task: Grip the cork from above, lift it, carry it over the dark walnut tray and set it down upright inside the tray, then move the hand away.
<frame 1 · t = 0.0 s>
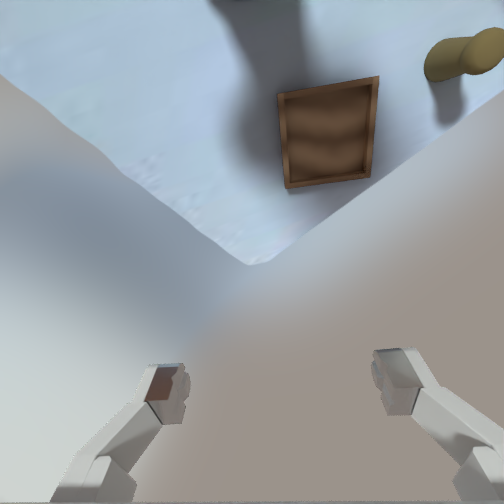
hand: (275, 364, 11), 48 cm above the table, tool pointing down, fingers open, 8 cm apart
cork: (442, 61, 43), on the table
walnut tray: (323, 136, 50), on the table
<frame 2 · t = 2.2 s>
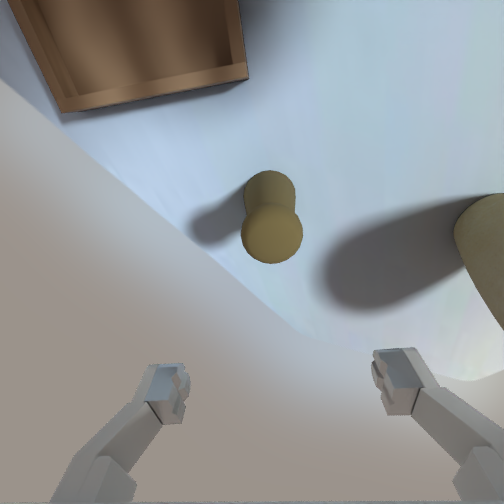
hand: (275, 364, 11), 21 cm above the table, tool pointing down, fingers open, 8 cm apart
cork: (269, 196, 29), on the table
plant pot: (484, 223, 30), on the table
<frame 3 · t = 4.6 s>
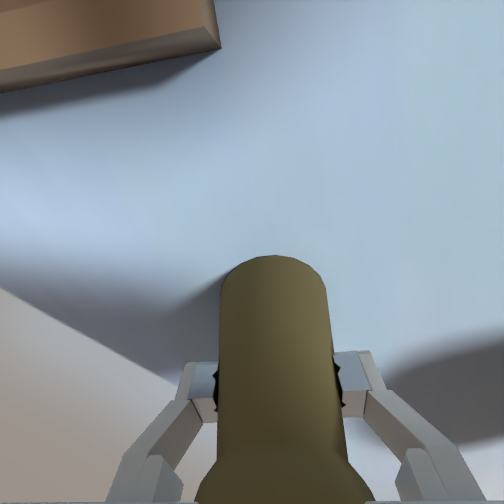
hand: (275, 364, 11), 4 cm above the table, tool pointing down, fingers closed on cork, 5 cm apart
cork: (272, 297, 15), on the table, touching gripper
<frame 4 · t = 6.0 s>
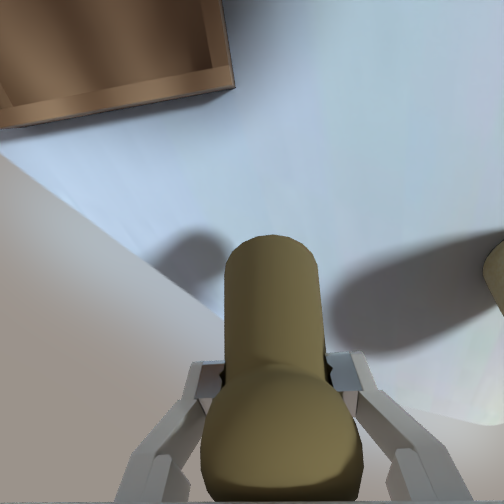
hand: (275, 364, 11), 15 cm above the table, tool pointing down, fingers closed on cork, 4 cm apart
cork: (270, 274, 16), point 8 cm above the table, touching gripper
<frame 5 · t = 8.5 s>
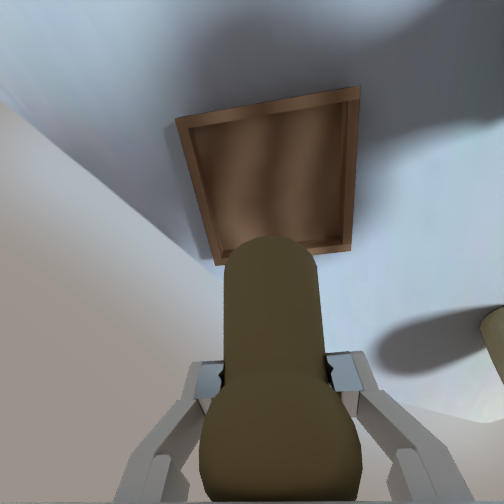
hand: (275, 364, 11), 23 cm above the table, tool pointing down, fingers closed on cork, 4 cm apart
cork: (270, 274, 16), point 16 cm above the table, touching gripper
walnut tray: (272, 185, 30), on the table
plant pot: (503, 320, 40), on the table
when the fingers open (7 cm above the table, at t = 11.2 s): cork stays where it is, resting on walnut tray.
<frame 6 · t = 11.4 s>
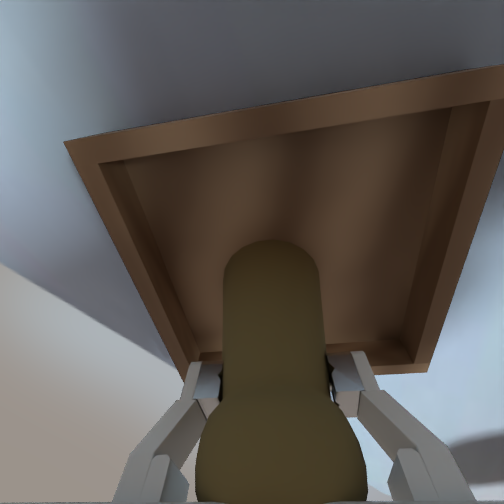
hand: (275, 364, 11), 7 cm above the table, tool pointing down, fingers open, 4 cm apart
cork: (270, 279, 16), point 1 cm above the table, touching gripper, walnut tray
walnut tray: (286, 256, 16), on the table
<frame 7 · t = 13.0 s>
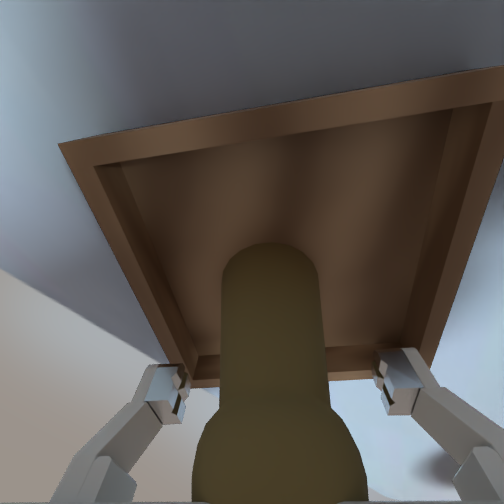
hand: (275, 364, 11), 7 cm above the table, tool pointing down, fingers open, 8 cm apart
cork: (269, 282, 16), point 1 cm above the table, touching walnut tray
walnut tray: (285, 258, 16), on the table
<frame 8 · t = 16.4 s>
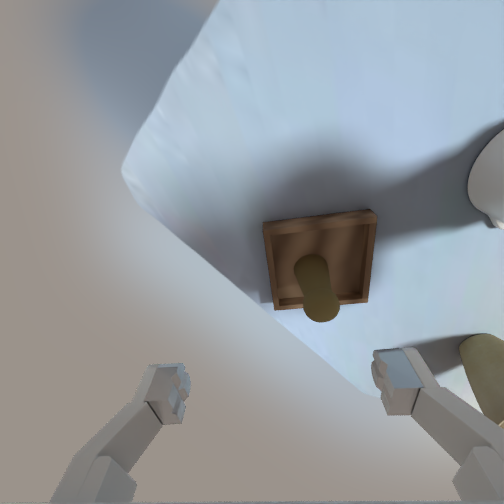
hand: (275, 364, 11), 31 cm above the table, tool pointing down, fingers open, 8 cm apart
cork: (310, 268, 45), point 1 cm above the table, touching walnut tray
walnut tray: (316, 259, 45), on the table
plant pot: (475, 344, 55), on the table
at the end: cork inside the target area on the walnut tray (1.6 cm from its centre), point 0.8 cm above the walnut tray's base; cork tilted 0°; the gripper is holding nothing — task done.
